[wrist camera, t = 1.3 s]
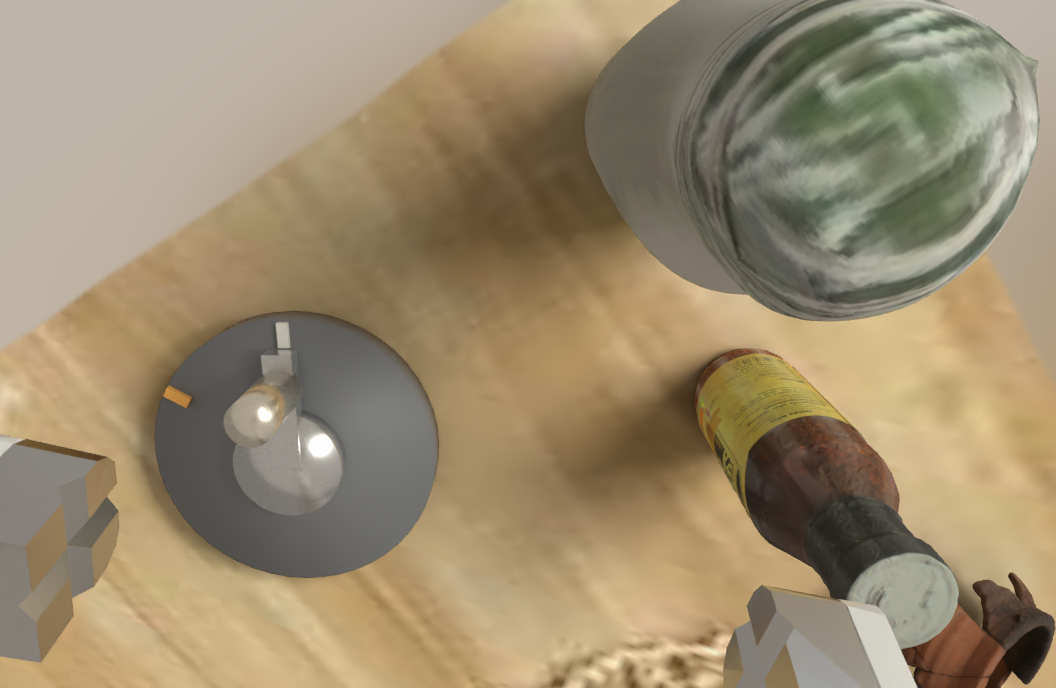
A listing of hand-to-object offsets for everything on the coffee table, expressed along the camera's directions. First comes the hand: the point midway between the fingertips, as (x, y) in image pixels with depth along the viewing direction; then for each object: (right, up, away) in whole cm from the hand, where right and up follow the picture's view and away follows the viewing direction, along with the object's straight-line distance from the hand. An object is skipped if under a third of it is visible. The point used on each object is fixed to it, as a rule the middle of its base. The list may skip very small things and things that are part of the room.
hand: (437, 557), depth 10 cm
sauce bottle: (+14, 0, +36) cm, 39 cm away
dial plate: (-12, -3, +37) cm, 39 cm away
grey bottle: (+9, +14, +32) cm, 36 cm away
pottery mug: (+26, -14, +41) cm, 50 cm away
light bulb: (-12, -2, +35) cm, 37 cm away
